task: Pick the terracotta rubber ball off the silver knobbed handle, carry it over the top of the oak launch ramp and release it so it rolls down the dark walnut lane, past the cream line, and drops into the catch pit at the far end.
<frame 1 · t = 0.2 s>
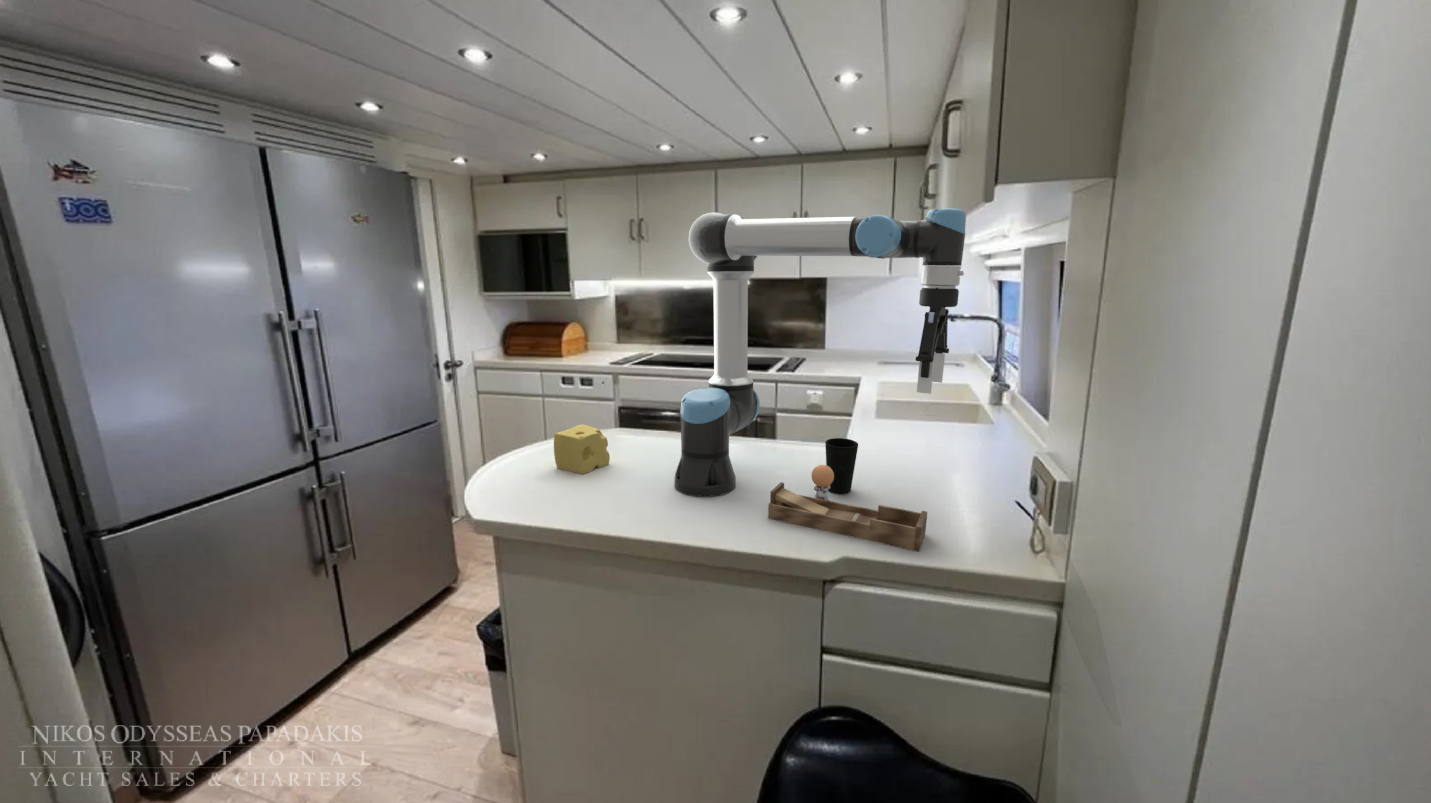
hand: (929, 387, 122), 27 cm above the worktop, fingers open, 13 cm apart
lane: (844, 526, 117), on the worktop
silver knobbed handle: (821, 505, 127), on the worktop
cup: (838, 490, 137), on the worktop
ball: (822, 475, 126), point 7 cm above the worktop, touching silver knobbed handle
cheese: (582, 467, 152), on the worktop
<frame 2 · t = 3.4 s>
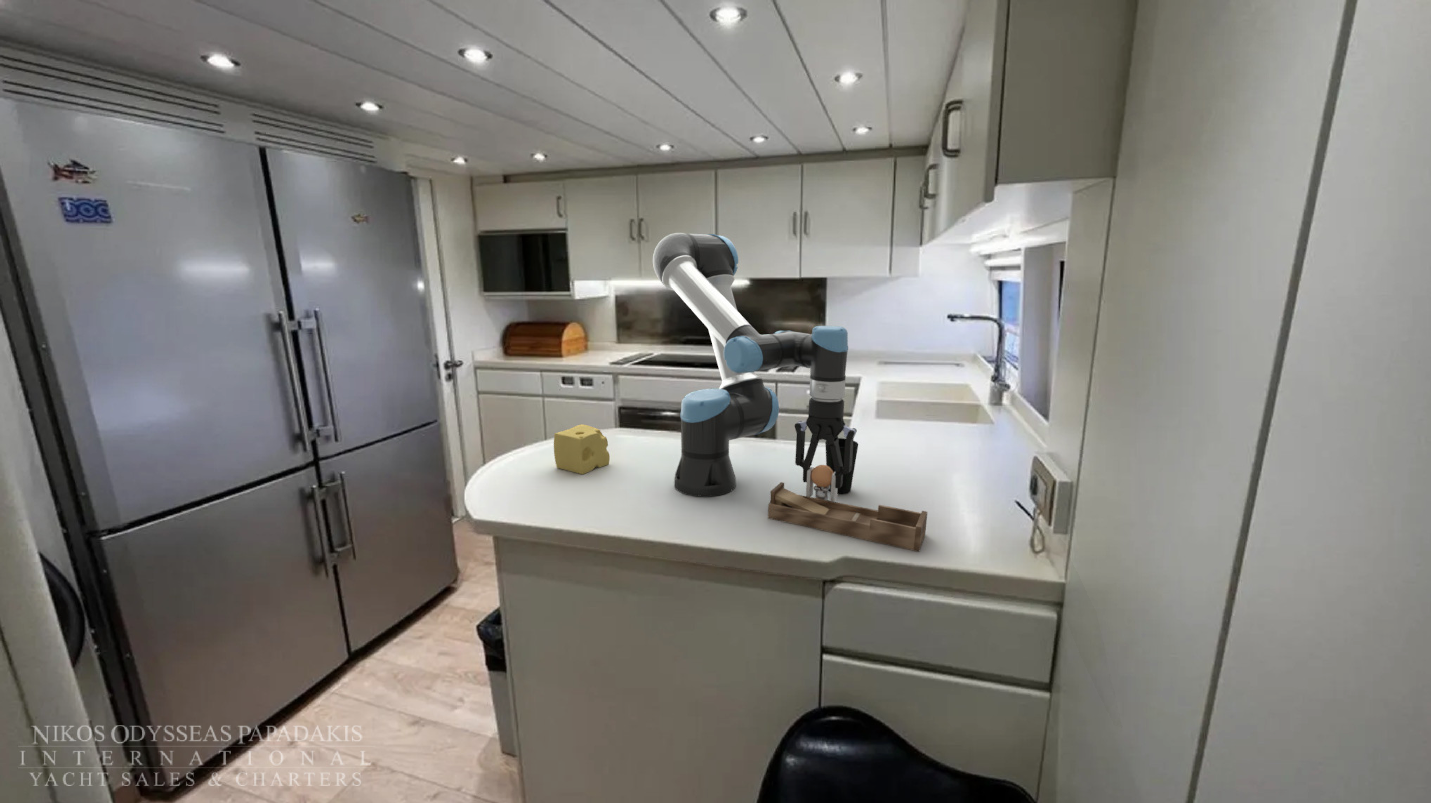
hand: (821, 498, 127), 2 cm above the worktop, fingers closed on ball, 5 cm apart
ball: (822, 475, 126), point 7 cm above the worktop, touching gripper, silver knobbed handle
everything else where it was.
when the fingers open (4 cm above the worktop, at t = 6.9 s): ball drops 7 cm and tips over, resting on lane.
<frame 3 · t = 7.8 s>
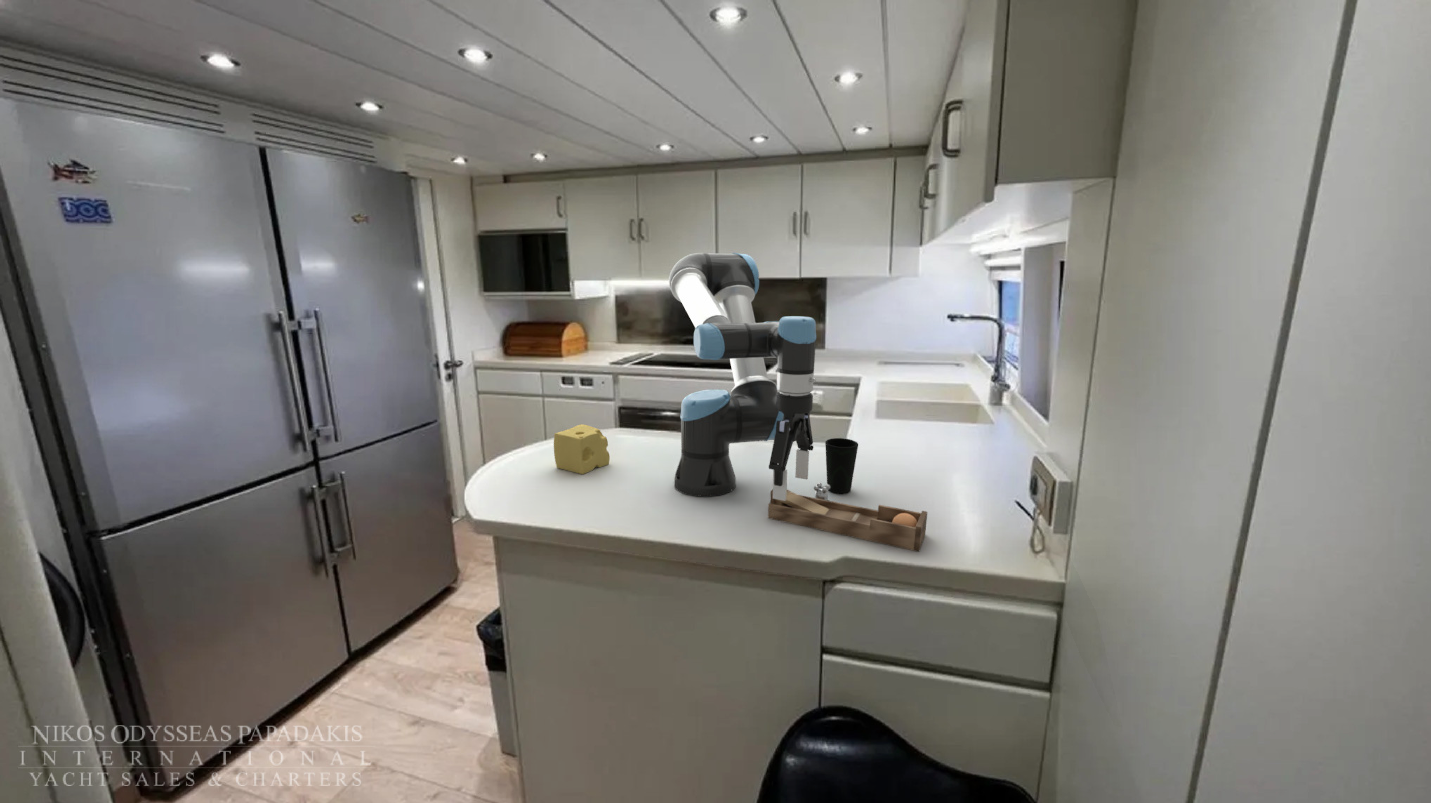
hand: (791, 488, 121), 6 cm above the worktop, fingers open, 13 cm apart
ball: (904, 525, 111), point 3 cm above the worktop, tilted 153°, touching lane
everything else where it was.
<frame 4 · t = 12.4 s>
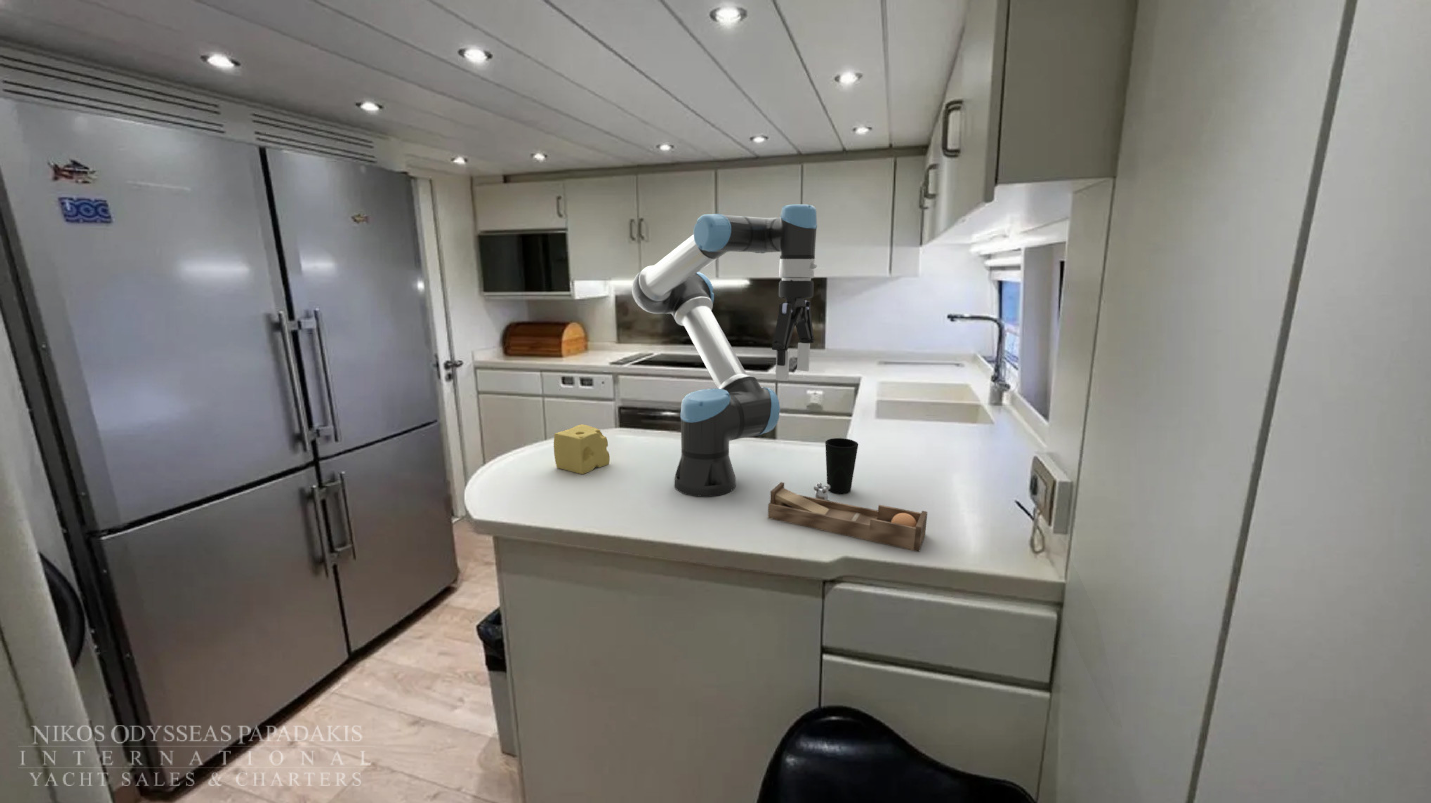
hand: (792, 375, 128), 29 cm above the worktop, fingers open, 13 cm apart
nothing on the worktop moved.
at the end: ball inside the target area on the lane (1.8 cm from its centre), point 2.8 cm above the lane's base; the gripper is holding nothing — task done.
